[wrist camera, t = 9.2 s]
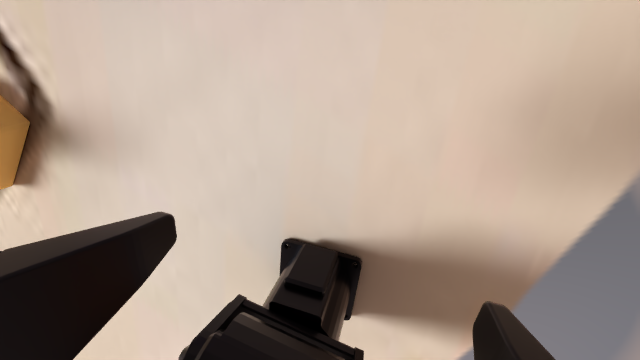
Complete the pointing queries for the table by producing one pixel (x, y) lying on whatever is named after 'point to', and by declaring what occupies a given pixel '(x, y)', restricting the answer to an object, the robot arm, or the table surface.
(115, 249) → the robot arm
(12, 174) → the rubber stamp
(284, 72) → the table surface
